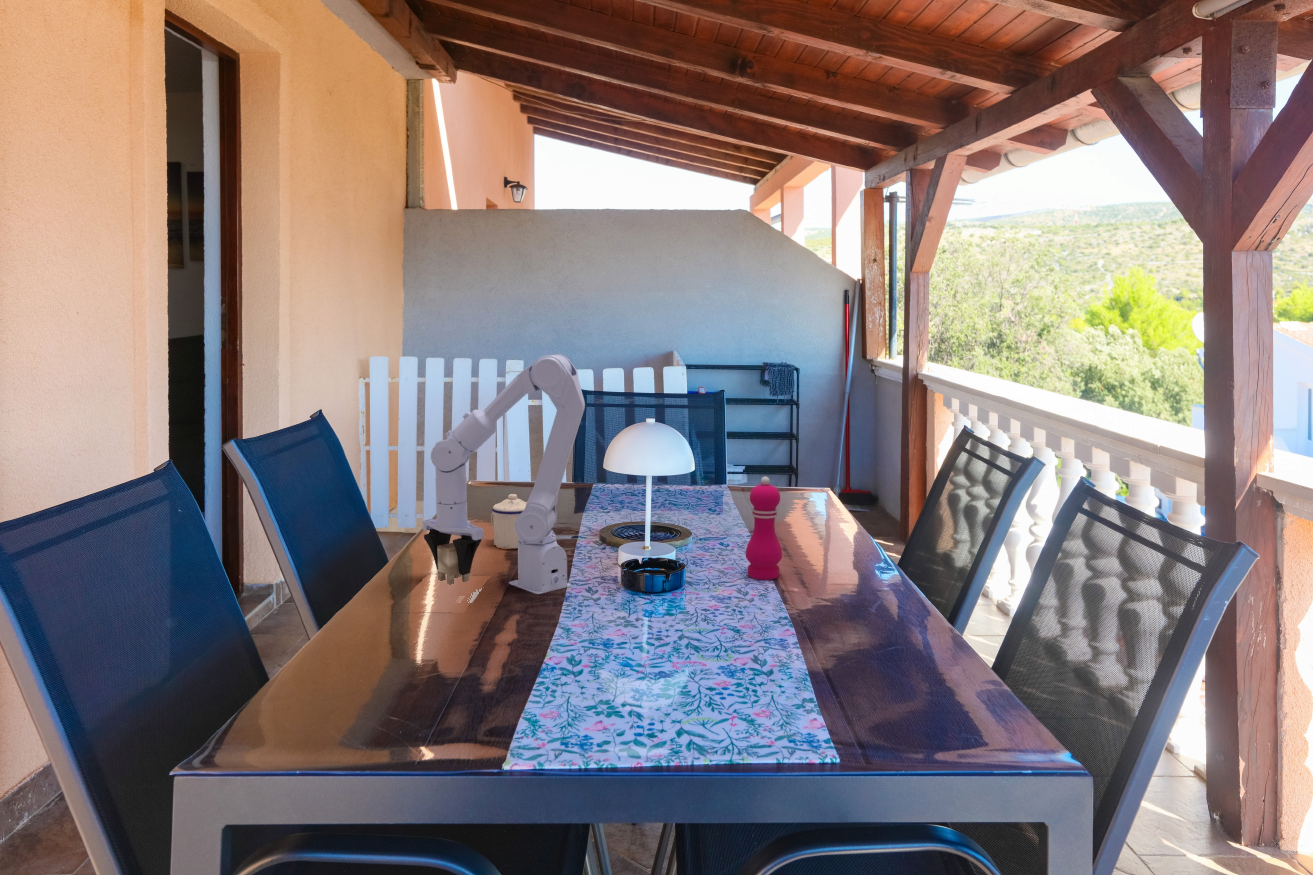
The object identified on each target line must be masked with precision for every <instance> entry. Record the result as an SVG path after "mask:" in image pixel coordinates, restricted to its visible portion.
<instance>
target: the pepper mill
mask: <svg viewBox="0 0 1313 875" xmlns="http://www.w3.org/2000/svg"><path fill="white" fill-rule="evenodd" d="M760 483H761V484H758V485H755V486H754V487H753V488H752V489H751V491H750V494H749V501H750V504H751V505H752V506H753V508H752V509H751V511H752V512H751V516H752V517H753V521H754V525H753V532H752V534H751V536H750V539H749V541H748V542H747V545H746V548H745V558H746V560H747V561H748V562H749V564H748V566H747V576H748V577H749V578H750V579H751V578H752V579H755V580H761V581H764V580H766V581H769V580H770V581H771V580H774V579H777V578H779V577H780V567H779V566H778V563H780V561H781V560H782V558H783V551H782V546H781V544H780V540H779V539H778V537H777V532H776V528H775V526H776V525H775V521H776V517H778V509H777V507H778V505H779V504H780V502H781V493H780V491H779V490H778V488H777V487H775V486H774V485H772V484H771V482H770V478H769V477H768V476H762V478H761V479H760Z"/></svg>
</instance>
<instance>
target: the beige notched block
mask: <svg viewBox="0 0 1313 875" xmlns="http://www.w3.org/2000/svg"><path fill="white" fill-rule="evenodd" d="M437 551H438V570H437V575H438V580H440V581H443V580H446V576H445V575H447V584H449V585H451V584H454V578H458V577H460V573H459V568H458V557H457V552H456V549H455V546H454V544H453V542H450V543H449V544H443V545H438V546H437ZM469 575H470V573H468V574H465V575H462V581H463V582H467V581H469Z"/></svg>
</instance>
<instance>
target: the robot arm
mask: <svg viewBox="0 0 1313 875" xmlns="http://www.w3.org/2000/svg"><path fill="white" fill-rule="evenodd" d="M539 390H540V391H542V392H543V393H545V394H546V395H547V396H548V398H549V399H550V401H551V403H552V404H553V406H554V407H555V409H556V412H555V415H554V419H553V423H552V426H551V429H550V433H549V435H548V439H547V442H546V446H545V449H544V452H543V456H542V458H541V461H540V464H539V468H538V471H537V475H536V478H535V481H534V484H533V488H532V490H531V492H530V495H529V497H528V498H527V501H526V502H527V504H526V507H525V509H524V511H523V512H522V513H521V514H520V515H519V516H518V517H517V519H516V522H515V530H516V533H517V535H518V536H519V537H518V550H517V574H518V575H517V578H518V579H515V580H512V581H509V582H508V584H509V585H511V586H514V587H516V588H520V589H522V590H525V591H527V592H530V593H533V594H535V595H541V594H544V593H548V592H552V591H556V590H560V589H564V588H568V587H571V583H569V582H568V556H567V552H566V550H565V549H564V548H563V547H561V546H560V545H559V544H558V542H557V535H556V534H555V531H554V530H553V529H554V527H555V525H556V524H557V520H558V514H557V504H558V501H559V492H560V488H561V485H562V483H563V479H564V475H565V472H566V469H567V465H568V464H569V459H570V456H571V453H572V450H573V447H574V444H575V440H576V438H577V434H578V430H579V427H580V425H581V422H582V417H583V414H584V412H585V410H586V409H585V408H586V403H585V402H586V401H585V398H584V395H583V392H582V387H581V384H580V380H579V373H578V370H577V368H576V367H575V366H574V364H573V363H572V362H571V360H570V359H569V358H568V357H567V356H565V355H564V354H561V353H552V354H549V355H543V356H540V357H538V358H537V359H536V360H535V361H534V362H533V364H531V365H529V366H527V367H526V368H524V369H523V370H522V371H521V372H520V373H519V374H517V375H516V376H515V377H514V378H513V379H512V380H511V381H510V382H509V383H508V384H507V385H506V386H505V387H504V388H503V389H502V391H501V392H500V393H499V394H498V395H497V396H496V397H495V398H493V400H492V401H491V402H490V403H489V404H488V405H487V406H486V407H485V408H484V409H474V410H472V411H471V412H470V411H467V412H465V413H464V414H463V416H462V418H463V420H461V422H460V423H459V424H458V425H457V426H455V427H454V429H453V430H448V431H447V432H446V433H445V436H446V439H442V440H439V441H437V442H436V443H435V445H434V447H433V448H432V450H431V452H430V460H431V463H432V464H433V466H434V468H435V505H436V506H435V507H436V508H435V509H436V518H435V519H434V518H427V519H423V520H422V522H421V523H422V530H423V531H428V533H425V534H423V539H424V540H425V542H426V544H427V545H428V547H429V549H430V552H431V554H432V557H433V559H434V564H435V566H436V569H437V571H438V551H437V546H438V545H443V544H449V543H451V538H452V535H453V536H458V537H459V538H456V539H452V543H453V544H454V546H455V549H456V552H457V557H458V568H459V573H460V575H465V574H468V573H469V574H470V573H471V569H472V565H473V561H474V559H475V558H474V557H475V555H476V552H477V550H478V548H479V546H480V544H481V542H482V539H484V528H483V527H479V526H477V525H475V524H472V523H471V520H468V497H467V496H468V491H467V490H468V488H467V469H466V468H467V463H468V462H469V460H470V457H471V455H473V454H474V453H475V452H476V451H478V449H480V448H481V447H482V446H483V445H484V444H485V443H486V441H488V440H489V439H490V438H491V437H492V436H493V435H494V434H495V433H496V432H497V422H498V421H499V419H501V418H502V417H503V416H504V415H505V414H506V413H507V412H509V411H510V410H511V409H512V408H513V407H514V406H515V405H516V404H517V403H518V402H519V401H520V400H522V399H523V398H524V397H525V396H526V395H528V394H532V393H535V392H538V391H539Z"/></svg>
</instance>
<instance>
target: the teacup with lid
mask: <svg viewBox="0 0 1313 875" xmlns="http://www.w3.org/2000/svg"><path fill="white" fill-rule="evenodd" d="M526 504H527V501H524V500H523V499H520V498H518V495H517V494H515V493H510V494H509V495H508V496H507V498H506V499H504V500H502V501H501V502H499V503H496V504H494V505H493V506H492V513H491V515H490V521H491V526H492V528H493V546H494V545H496V546H498V547H501V548H518V537H519V536H518V535H517V533H516V530H515V522H516V519H517V517H518V516H519V515H520V514H521V513H522V512H523V511H524V509H525V507H526Z"/></svg>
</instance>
